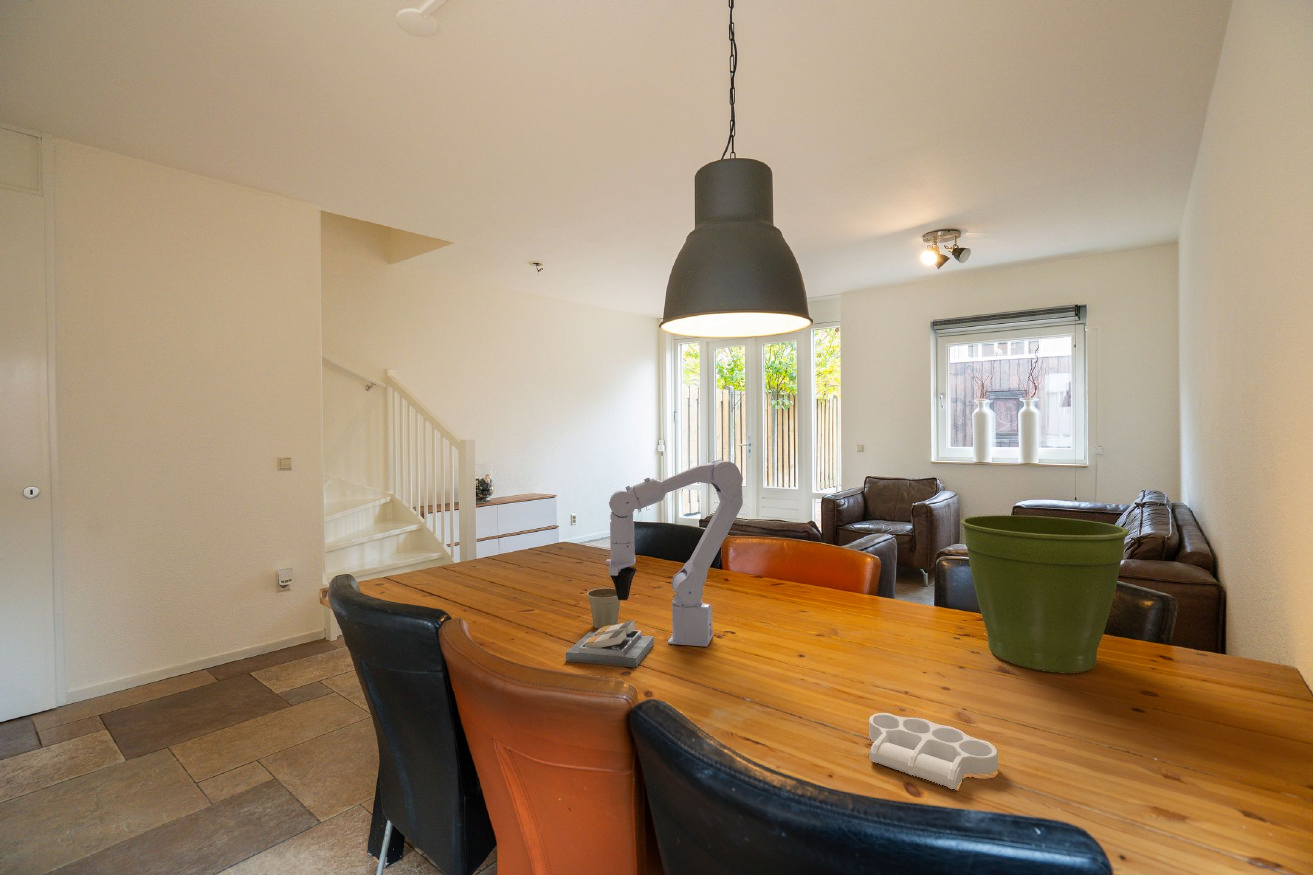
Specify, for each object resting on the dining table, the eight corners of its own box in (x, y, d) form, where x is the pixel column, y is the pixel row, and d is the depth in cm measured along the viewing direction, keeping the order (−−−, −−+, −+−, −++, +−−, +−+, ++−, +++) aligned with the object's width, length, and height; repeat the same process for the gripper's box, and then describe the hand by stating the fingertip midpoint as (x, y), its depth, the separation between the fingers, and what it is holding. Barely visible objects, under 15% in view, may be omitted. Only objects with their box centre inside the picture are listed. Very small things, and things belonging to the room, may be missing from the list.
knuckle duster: (848, 760, 88) (883, 723, 99) (982, 808, 77) (1006, 760, 88) (847, 737, 88) (883, 703, 99) (982, 781, 77) (1005, 737, 88)
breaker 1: (635, 627, 138) (634, 620, 138) (629, 633, 133) (628, 626, 133) (604, 633, 140) (602, 626, 140) (597, 639, 135) (596, 632, 136)
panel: (653, 645, 138) (653, 631, 138) (636, 667, 124) (635, 652, 124) (589, 640, 142) (589, 626, 142) (565, 661, 129) (565, 646, 129)
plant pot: (962, 671, 120) (960, 529, 120) (963, 628, 146) (961, 512, 146) (1149, 699, 106) (1146, 539, 106) (1113, 646, 132) (1110, 518, 132)
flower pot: (622, 631, 148) (621, 597, 148) (584, 632, 148) (584, 597, 148) (625, 620, 157) (624, 587, 157) (589, 620, 157) (589, 588, 158)
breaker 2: (626, 636, 131) (624, 629, 131) (619, 643, 127) (617, 636, 127) (594, 643, 133) (592, 636, 133) (586, 650, 129) (584, 643, 129)
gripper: (616, 536, 148) (616, 590, 147) (595, 546, 133) (596, 606, 133) (643, 537, 146) (644, 592, 146) (625, 547, 132) (626, 608, 132)
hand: (623, 599), depth 139 cm, fingers closed
